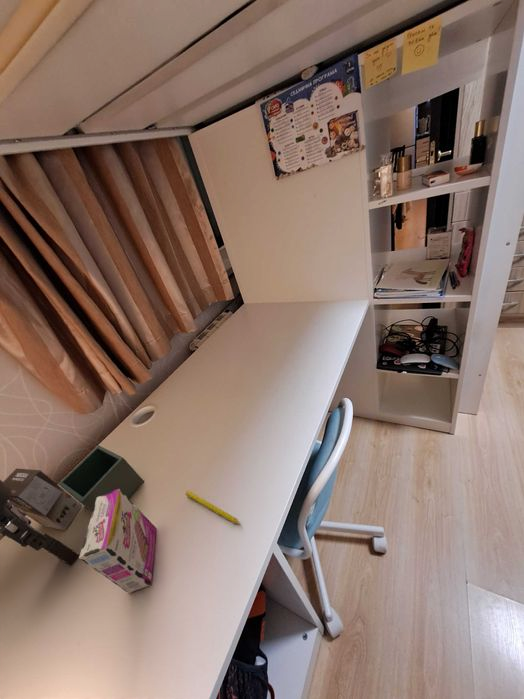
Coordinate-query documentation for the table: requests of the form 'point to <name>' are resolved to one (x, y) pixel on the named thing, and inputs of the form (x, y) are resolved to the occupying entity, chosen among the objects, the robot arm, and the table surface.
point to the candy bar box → (120, 542)
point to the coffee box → (41, 498)
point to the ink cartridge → (60, 550)
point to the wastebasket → (100, 477)
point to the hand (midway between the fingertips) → (34, 535)
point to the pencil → (212, 507)
